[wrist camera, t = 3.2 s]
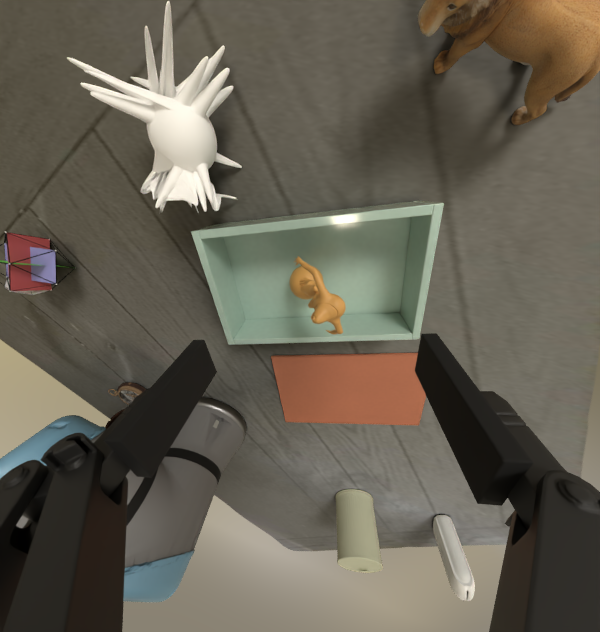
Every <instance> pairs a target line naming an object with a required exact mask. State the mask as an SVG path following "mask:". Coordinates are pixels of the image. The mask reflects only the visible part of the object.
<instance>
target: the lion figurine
mask: <svg viewBox="0 0 600 632" xmlns="http://www.w3.org/2000/svg"><path fill="white" fill-rule="evenodd" d="M418 23H419V26H420V30H421V32H422V33H423V34H424V35H426V36H427V37H429V36H432V35H433V34H434V33H435V32H436V31H437V30H438V28H439V27H440V25H441V26H443V27H444V30H445V33H449V34H450V35H451V36H452V37H454V38H455V41H454V43H453V45H452V47H451V48H450V50H448V51H447V50H445V51H442V52H440V54H439V55H438V57H437V58H436V59H435V60H434V70H435V74H440V73H443V72H444V71H446V70H448V69H450V68H451V67H452V66H453V65H454V64H455V63H456V62H457V61H458V59H459V58H460V57H462V56H463V55H465V54H466V53H468V52H469V51H471V50H473V49H475V48H477V47H479V46H480V45H481V44H482V43H483V41H485V42H486V43H487V44H488V45H489V46H490V47H491V48H492V49H493V50H494V51H496V52H497V53H499V54H500V55H502V56H504V57H506V58H508V59H510V60H513V61H516V62H520V63H521V64H523V65H531V66H532V68H533V72H532V75H531V78H530V80H529V82H528V85H527V88H526V92H525V96H524V101H525V106H522V107H520V108H519V109H517V110H516V111H515V112H514V114H513V116H512V123H513V124H514V125H521V124H524V123H527V122H529V121H531V120H533V119H535V118H537V117H539V116H540V115H542V114H543V113H544V112H545V111H546V110H547V103H548V102H549V101H550V99H551V98H553V97H554V96H555V100H556V101H557V102H560V101H565V100H567V99H568V98H570V96H571V94H573V93H574V92H576V91H578V90H579V89H581V88H582V87H583V86H585V85H586V84H587V83H588V82H589V81H590V80H591V79H593V77H594V76H595V75H596V74H597V73H598V71H599V70H600V0H426V2H425V3H424V5H423V6H422V8H421V9H420V11H419V14H418Z"/></svg>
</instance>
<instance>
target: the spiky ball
mask: <svg viewBox="0 0 600 632" xmlns="http://www.w3.org/2000/svg"><path fill="white" fill-rule="evenodd" d="M145 47H146V59H147V70H148V80H149V81H148V80H145V79H142V78H138V77H130V78H132V79H133V80H134V81H136V82H137V83H139V84H141V85H143V86H145V87H146V88H148V89H149V90H146V89H143V88H140V87H137V86H134V85H131V84H129V83H126V82H123V81H121V80H119V79H117V78H115V77H113V76H111V75H108V74H106V73H104V72H102V71H100V70H98V69H96V68H93V67H91V66H89V65H87V64H85V63H82V62H80V61H78V60H75V59H73V58H69V57H67V59H68V60H69V61H70V62H72V63H73V64H75V65H77V66H78V67H80V68H81V69H83V70H84V71H85V72H86V73H88V74H90V75H92V76H95V77H97V78H99V79H100V80H102V81H104V82H106V83H107V84H109V85H111V86H113V87H114V88H116V89H118V90H120V91H121V92H123V93H125V94H127V95H128V96H127V95H124V94H121V93H118V92H115V91H111V90H108V89H105V88H102V87H99V86H95V85H92V84H88V83H81V86H82V87H84V88H86V89H87V90H89V91H91V92H90V94H91V95H92V96H93V97H95V98H97V99H98V100H100V101H102V102H104V103H106V104H108V105H110V106H112V107H114V108H116V109H118V110H121V111H123V112H125V113H127V114H129V115H132V116H134V117H136V118H138V119H140V120H142V121H143V122H145V123H147V131H148V135H149V139H150V141H151V144H152V146H153V148H154V150H155V157H154V164H153V170H152V172H151V173H150V174H149V176H148V177H147V179H146V180H145V182H144V184H143V185H142V189H141V191H140V192H142V194H147V193H149V192H150V191H152V195H153V199H156V198H157V197H158V199H157V202H156V205H155V207H156V208H158V207H160V209H161V210H162V211H163V209H164V206H165V205H166V201H167V200H184V201H187V202H188V203H189V205H190V206H191V207H192V204H194V205H195V207H196V206H197V205H198V197H197V193H198V196H199V199H200V202H201V205H202V207H203V210H204V211H205V212H206V211H207V205H206V195H205V192H206V194H207V197H208V199H209V201H210V203H211V205H212V208H213V209H214V210H215V211H218V210H219V208H220V204H221V197H225V198H232V199H236V198H235V197H233V196H228V195H223V194H216V193H215V189H214V186H213V184H212V183H211V182H210V178H209V173H208V169H209V168H210V167H211V166H212V165H213V163H214V161H216V162H219V163H222V164H226V165H230V166H233V167H237V168H242V166H241V165H239V164H238V163H236V162H234V161H232V160H230V159H228V158H226V157H224V156H222V155H220V154H219V153H217V139H216V134H215V131H214V128H213V126H212V123H211V121H210V120H209V117H210V115H211V114H212V113H213V112H214V111H215V110H216V109H217V108H218V107H219V106H220V104H221V103H222V102H223V101H224V100H225V99H226V98H227V97H228V96H229V94H230V93H231V92H232V90H233V86H228V87H226V88H224V89H222V90H221V91H220V89H221V88H222V86H223V84H224V82H225V80H226V79H227V76H228V74H229V71H230V70H229V68H225V69H224V70H223V71H221V72H220V73H219V74H218V75H217V76H216V77H215V78H214V79H213V80H212V81H211V82H210V83H209V84H208V82H209V80H210V78H211V76H212V75H213V73H214V71H215V69H216V67H217V65H218V63H219V61H220V59H221V57H222V55H223V53H224V50H225V46H222V47H221V48H220V49H219V50H218V51H217V52H216V53H215V54H214V56H213V57H211V58H210V59H209V60H208V57H204V58H203V59H202V60H201V62H200V63H199V64H198V66H197V67H196V68H195V70H194V71H193V73H192V74H191V75H190V76H189V77H188V78H187V79H185V80H184V81H183V82H182V83H181V84H180V85H178V86H177V87H175V85H174V73H173V37H172V16H171V6H170V2H169V1H167V3H166V9H165V18H164V32H163V50H162V71H161V70H160V83H159V82H158V77H157V71H156V65H155V59H154V54H153V48H152V43H151V38H150V34H149V30H148V27H147V26H145ZM207 84H208V85H207ZM196 190H197V192H196ZM196 209H197V207H196ZM161 210H160V211H161ZM197 211H198V210H197Z"/></svg>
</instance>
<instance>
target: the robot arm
mask: <svg viewBox="0 0 600 632" xmlns="http://www.w3.org/2000/svg"><path fill="white" fill-rule="evenodd" d="M216 372H217V371H216V369H215V366H214V364H213V361H212V359H211V356H210V353H209V351H208V348H207V346H206V343H205V341H204V340H193V341H192V342H191V343H190V345H189V346H188V347H187V348H186V349H185V350H184V351H183V352H182V353H181V355H180V356H179V357H178V358H177V359H176V360H175V361H174V362H173V364H172V365H171V366H170V367H169V368H168V369H167V370H166V371H165V372H164V374H163V375H162V376H161V377H160V378H159V379H158V380H157V381H156V383H155V384H154V385H153V386H152V387H151V388H150V389H147V390H145V391H144V392H142V393H141V394H140V395H138V396H137V397H136V398H135V399H134V400H133V401H132V402H131V403H130V405H129V407H127V408H126V409H125V410H124V411H123V412H122V414H121V415H119V416H118V418H117V419H116V420H115V421H114V422H113V423H112V424H111V425H110V426H109V427H108V428H107V429H106V428H105V427H100V426H98V425H96V424H94V423H92V422H90V421H88V420H86V419H84V418H82V417H80V416H76V415H71V416H65V417H62V418H60V419H57V420H55V421H54V422H52V423H51V424H49V425H48V426H46V427H45V428H44V429H42V430H41V431H39V432H38V433H36V434H35V435H34V436H32V437H31V438H29V439H28V440H26V441H25V442H24V443H22V444H21V445H20V446H18V447H16V448H15V449H14V450H12V451H11V452H9V453H8V454H6V455H5V456H3V457H2V458H1V459H0V632H122V622H123V601H132V602H162V601H164V600H166V599H168V598H169V597H170V596H171V595H172V594H173V593H174V592H175V591H176V589H177V588H178V586H179V584H180V582H181V579H182V577H183V575H184V572H185V570H186V568H187V565H188V563H189V560H190V559H191V556H192V555H193V553H194V548H195V545H196V542H197V539H198V536H199V534H200V531H201V528H202V526H203V523H204V520H205V517H206V515H207V512H208V509H209V507H210V504H211V501H212V498H213V496H214V493H215V490H216V487H217V484H218V482H219V479H220V477H221V474H222V472H223V470H224V469H225V467H226V466H227V464H228V463H229V462H230V460H231V459H232V457H233V456H234V454H235V453H236V452H237V450H238V449H239V447H240V446H241V445H242V443H243V441H244V438H245V435H246V431H247V427H246V423H245V421H244V419H243V418H242V416H241V415H240V414H239V413H238V412H237V411H236V410H234V409H233V408H231V407H230V406H228V405H226V404H224V403H222V402H220V401H217V400H214V399H210V398H205V397H202V395H203V393H204V392H205V390H206V388H207V387H208V385H209V384H210V382H211V380H212V379H213V377H214V375H215V374H216ZM415 373H416V375H417V377H418V379H419V381H420V383H421V385H422V388H423V390H424V392H425V394H426V396H427V398H428V400H429V402H430V404H431V406H432V409H433V411H434V413H435V415H436V417H437V419H438V421H439V423H440V425H441V428H442V430H443V432H444V434H445V436H446V438H447V440H448V442H449V444H450V447H451V449H452V451H453V453H454V455H455V457H456V459H457V461H458V463H459V465H460V468H461V470H462V472H463V474H464V476H465V478H466V480H467V482H468V484H469V487H470V489H471V491H472V493H473V495H474V497H475V499H476V501H477V503H478V504H490V505H502V504H503V503H504V502H505V500H506V499H507V498H508V499H509V500H510V502H511V504H512V505H513V507H514V509H515V511H514V512H513V513H512V514H511V516H510V517H509V518H508V519H507V521H506V523H505V524H506V525H507V526H510V530H509V535H508V540H507V545H506V550H505V555H504V560H503V565H502V570H501V576H500V580H499V585H498V590H497V595H496V601H495V605H494V610H493V615H492V621H491V625H490V631H489V632H600V492H599V491H598V490H597V489H595V488H594V487H593V486H592V485H591V484H589V483H588V482H586V481H584V480H583V479H581V478H580V477H578V476H576V475H573V474H571V473H568V472H567V471H566V470H565V469H564V468H563V467H562V466H561V465H560V464H559V463H558V461H557V460H556V459H555V458H554V457H553V455H552V454H551V453H550V452H549V451H548V450H547V448H546V447H545V446H544V445H543V444H542V442H541V441H540V440H539V439H538V438H537V436H536V435H535V434H534V433H533V432H532V431H531V429H530V428H529V427H528V426H526V423H525V422H524V421H523V420H522V419H521V417H520V416H518V415H517V413H516V412H515V410H514V409H513V408H512V407H511V406H510V404H509V403H508V402H507V401H506V400H504V399H503V398H501V397H500V396H499V395H497V394H496V393H495V392H492V391H479V389H478V388H477V387H476V385H475V384H474V383H473V381H472V380H471V379H470V377H469V376H468V375H467V373H466V372H465V371H464V369H463V368H462V367H461V365H460V364H459V363H458V361H457V360H456V359H455V357H454V356H453V355H452V353H451V352H450V351H449V349H448V348H447V347H446V345H445V344H444V343H443V341H442V340H441V339H440V337H439V336H438V335H437V334H422V335H421V340H420V345H419V351H418V356H417V361H416V366H415ZM105 429H106V430H105Z"/></svg>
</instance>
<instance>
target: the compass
mask: <svg viewBox="0 0 600 632" xmlns="http://www.w3.org/2000/svg"><path fill="white" fill-rule="evenodd" d="M109 390H114V389H109ZM109 390H108V392H109ZM145 390H146V389H145V388H144V387H142V386H141V385H138V384H136V383H132V382H126V383H123V384H121V385H120V386H119V387H118V392H117V391H116V390H114V391H115V393H114V394H116V395H113V394H111V393H110V392H109V393H110V394H111V395H113V396H117V395H119V397H120V398H121V400H122V401H124V402H125V403H127V404H128V405H130V403H131V402H132V401H133V400H134V399H135V398H136V397H137V396H138V395H140V394H141V393H142V392H144V391H145ZM124 410H125V409H124ZM124 410H122V411H120V412H118V413H117V414H115V415H114V416H113V417H112V418H111V421H108V423H107V425H106V427H105V428H106V429H107V428H108V427H109V426H110V425H111V424H112V423H113V422H114V421H115V420H116V419H117V418H118V416H119V415H121V414H122V412H123V411H124ZM106 429H105V430H106Z"/></svg>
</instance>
